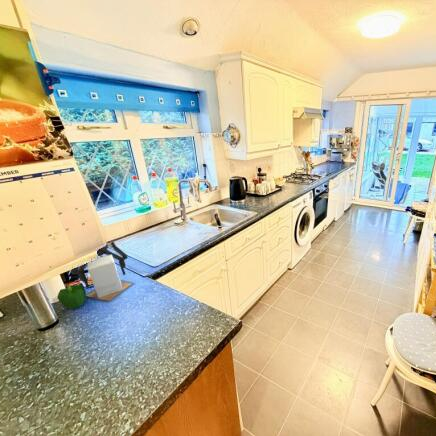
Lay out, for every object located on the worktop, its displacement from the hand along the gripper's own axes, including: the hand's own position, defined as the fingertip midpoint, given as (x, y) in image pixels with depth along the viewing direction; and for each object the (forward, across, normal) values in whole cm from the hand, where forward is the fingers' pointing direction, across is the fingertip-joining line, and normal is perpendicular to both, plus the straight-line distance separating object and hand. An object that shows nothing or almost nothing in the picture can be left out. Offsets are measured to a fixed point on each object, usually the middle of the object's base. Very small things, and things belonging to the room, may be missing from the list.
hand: (106, 280), depth 103 cm
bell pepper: (+5, -12, +5) cm, 14 cm away
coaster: (+3, 0, +7) cm, 7 cm away
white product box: (+3, 0, +6) cm, 7 cm away
